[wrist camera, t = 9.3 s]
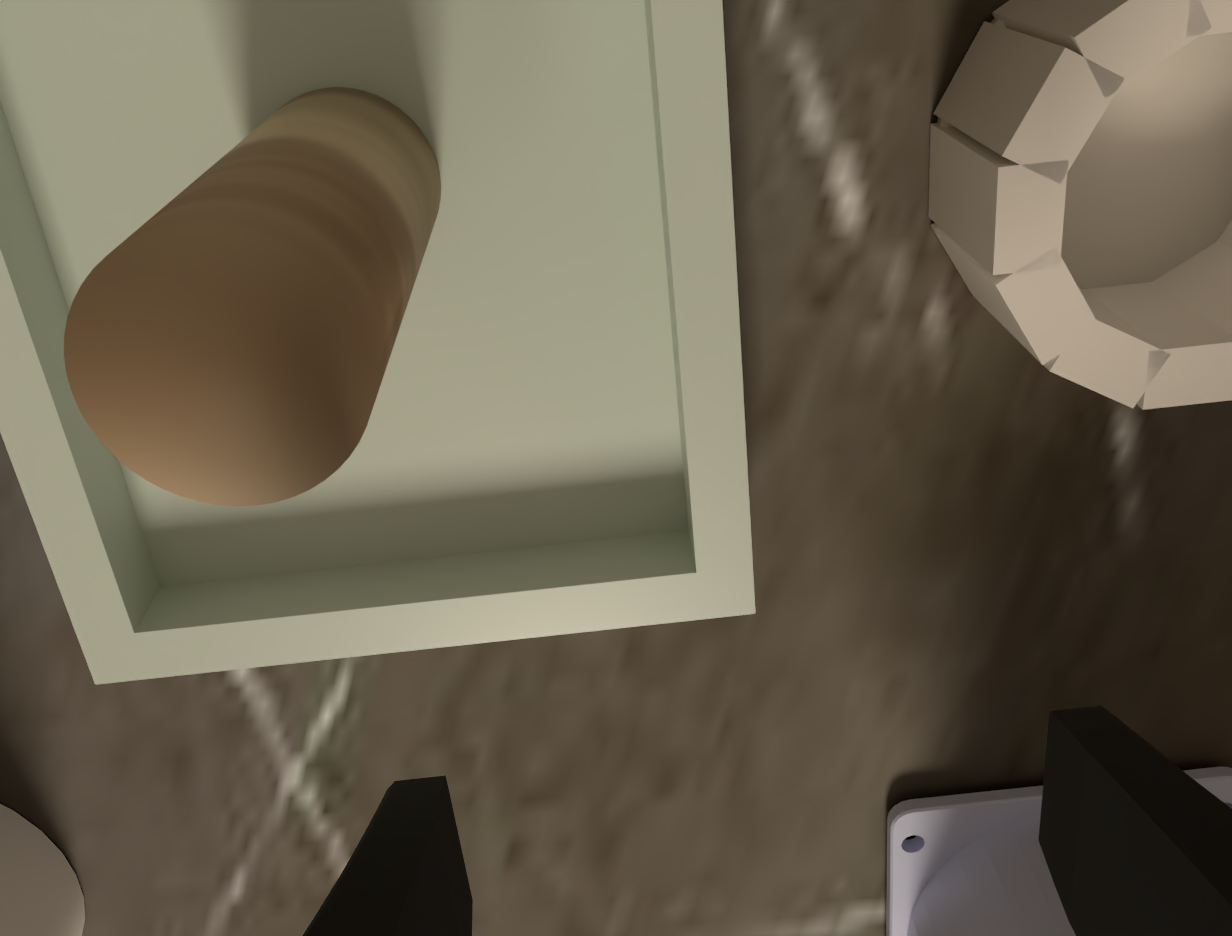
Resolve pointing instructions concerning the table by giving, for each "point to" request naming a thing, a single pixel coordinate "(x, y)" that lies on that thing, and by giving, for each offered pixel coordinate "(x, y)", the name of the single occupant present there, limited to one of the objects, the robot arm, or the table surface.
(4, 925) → the cylindrical container
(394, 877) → the robot arm
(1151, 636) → the table surface
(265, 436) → the dowel pin
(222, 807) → the table surface
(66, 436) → the tray
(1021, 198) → the ring
